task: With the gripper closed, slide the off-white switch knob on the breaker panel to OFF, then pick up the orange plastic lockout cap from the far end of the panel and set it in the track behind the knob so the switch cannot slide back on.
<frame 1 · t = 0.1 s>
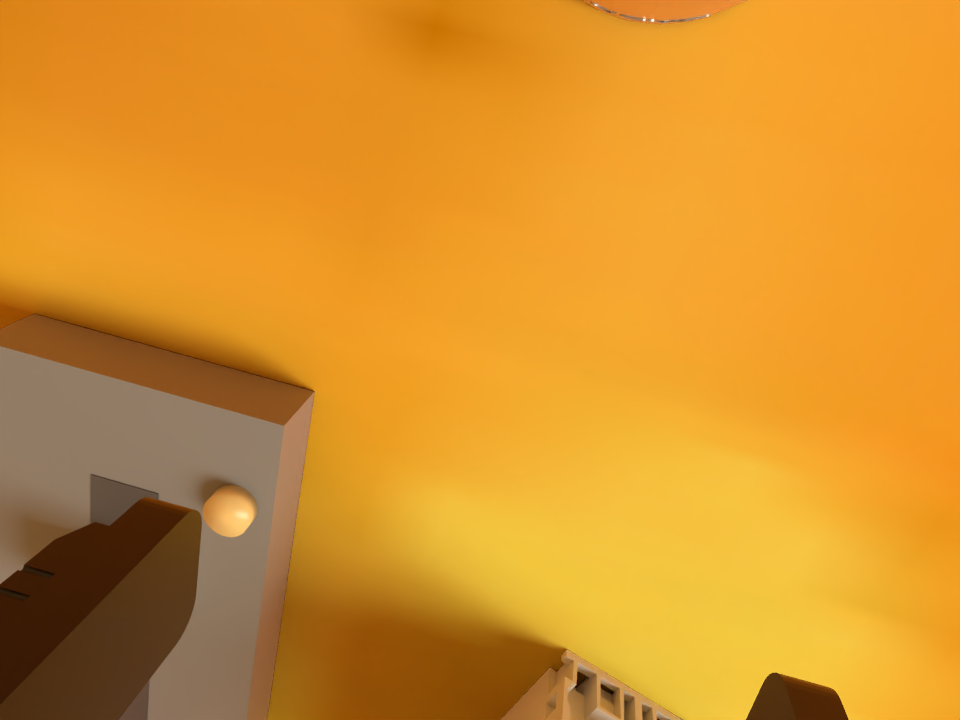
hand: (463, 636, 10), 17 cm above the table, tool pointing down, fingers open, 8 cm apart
breaker panel: (159, 598, 34), on the table
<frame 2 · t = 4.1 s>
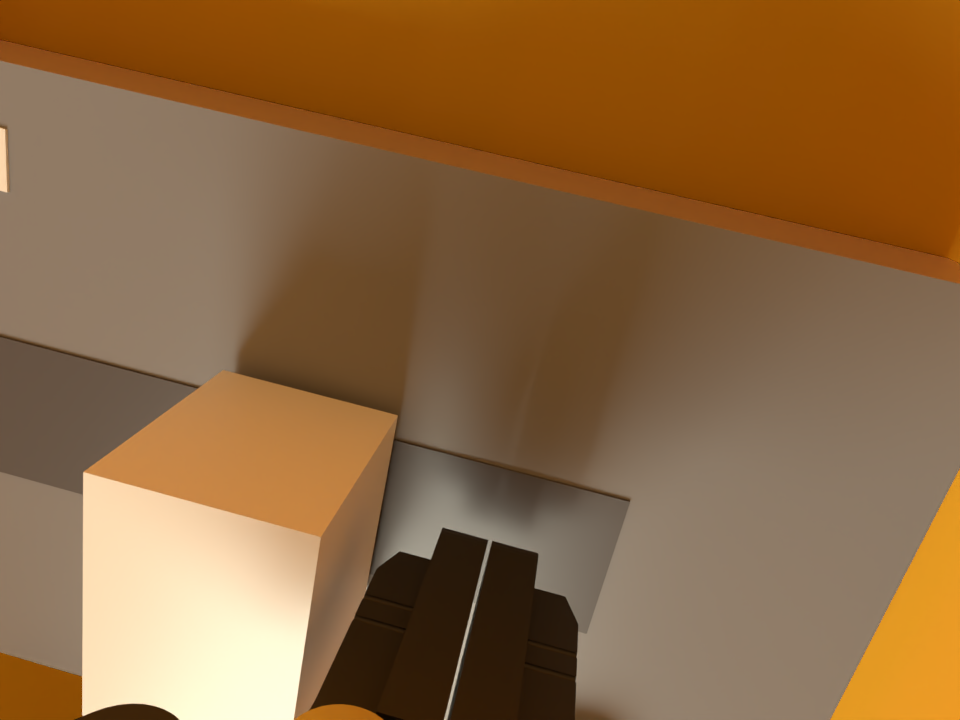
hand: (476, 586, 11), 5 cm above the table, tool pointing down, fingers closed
breaker panel: (224, 383, 16), on the table
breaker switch: (251, 554, 11), point 5 cm above the table, slide at 1.0 cm, touching gripper
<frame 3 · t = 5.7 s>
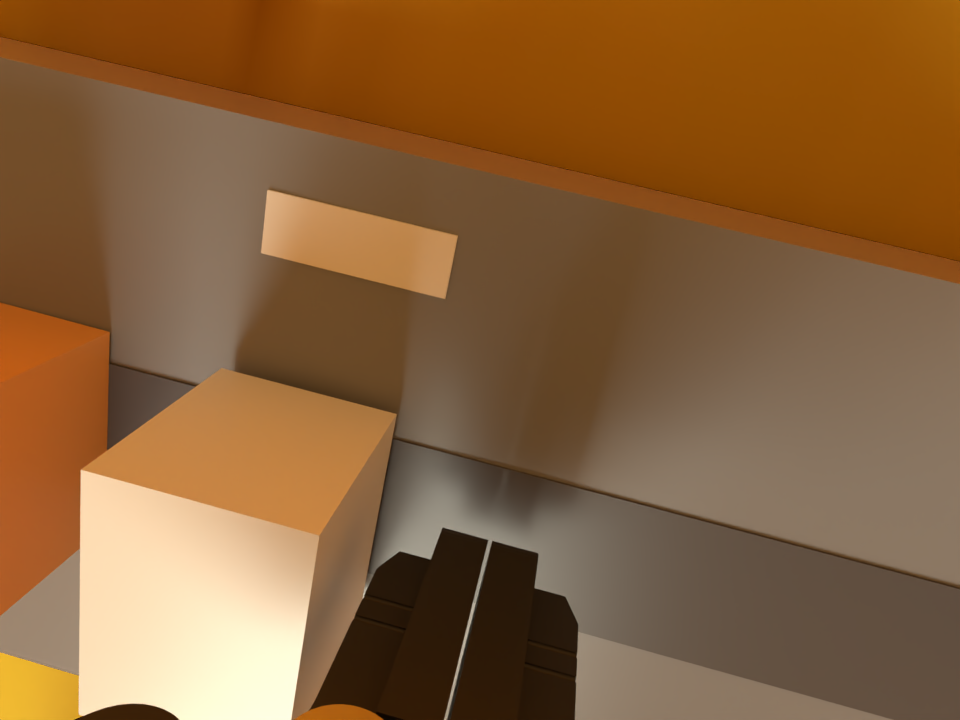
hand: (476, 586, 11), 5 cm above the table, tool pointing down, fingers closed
lockout cap: (5, 406, 13), point 3 cm above the table, touching breaker panel
breaker panel: (551, 468, 15), on the table
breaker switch: (249, 553, 11), point 5 cm above the table, slide at 8.4 cm, touching gripper
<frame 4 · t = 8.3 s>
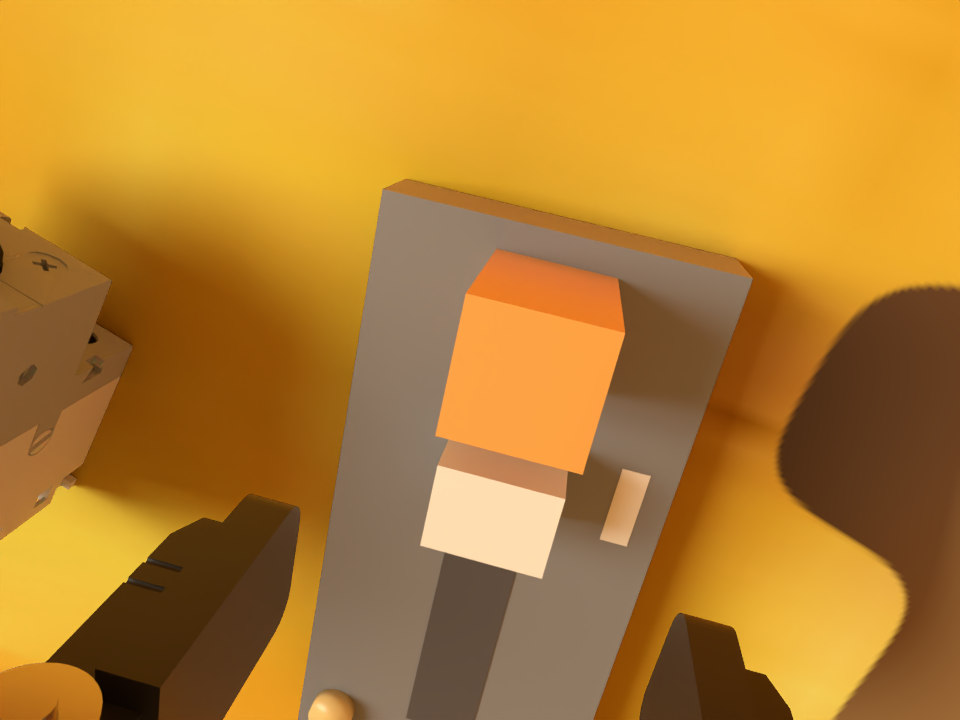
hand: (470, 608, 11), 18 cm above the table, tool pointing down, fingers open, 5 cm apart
circuit breaker: (50, 315, 31), on the table
lockout cap: (542, 321, 24), point 3 cm above the table, touching breaker panel
breaker panel: (490, 521, 31), on the table
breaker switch: (497, 494, 24), point 5 cm above the table, slide at 8.4 cm
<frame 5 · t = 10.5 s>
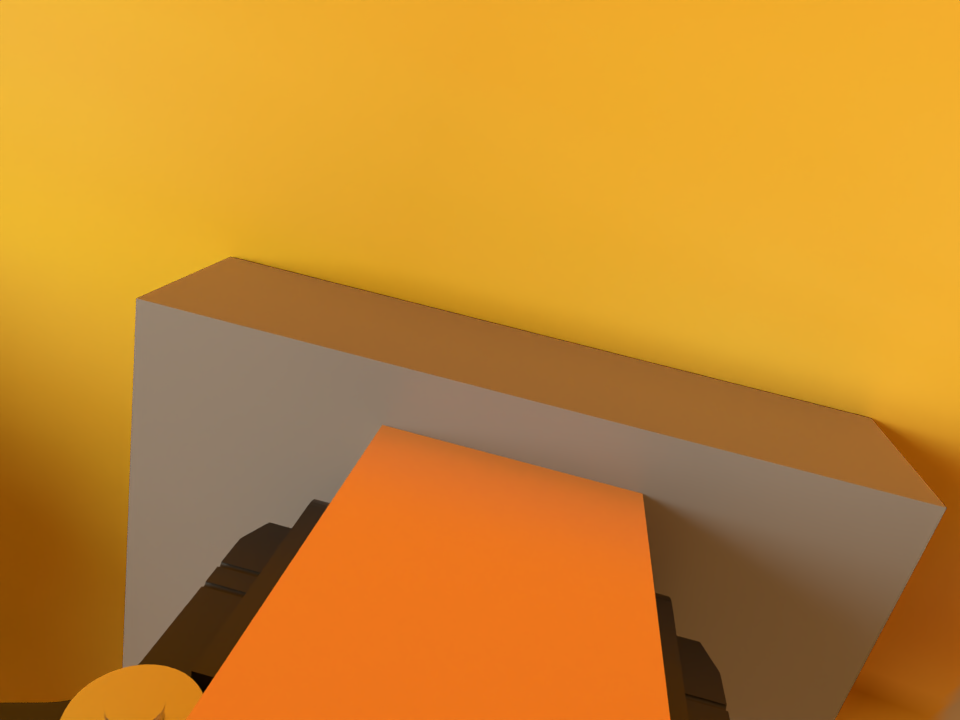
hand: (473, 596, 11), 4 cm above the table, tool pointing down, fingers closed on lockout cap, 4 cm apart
lockout cap: (482, 567, 12), point 3 cm above the table, touching breaker panel, gripper
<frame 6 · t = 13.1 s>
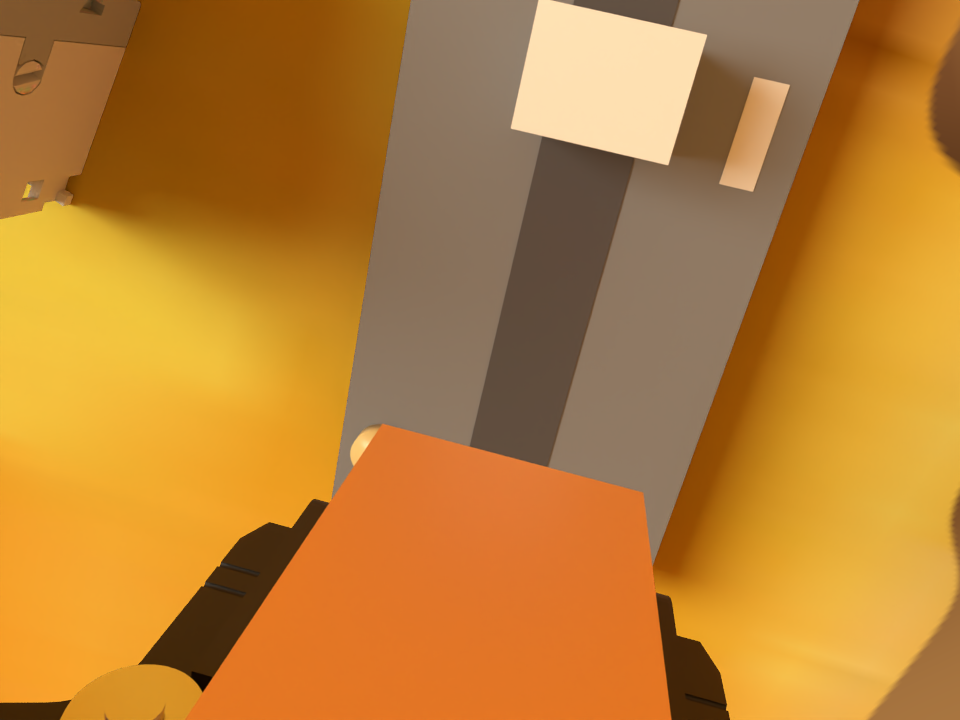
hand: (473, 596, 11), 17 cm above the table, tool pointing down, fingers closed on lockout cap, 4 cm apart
lockout cap: (482, 566, 12), point 16 cm above the table, touching gripper
breaker panel: (569, 218, 25), on the table
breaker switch: (604, 84, 19), point 5 cm above the table, slide at 8.4 cm
when the fingers open (5 cm above the table, at t = 15.5 s): lockout cap drops 1 cm, resting on breaker panel.
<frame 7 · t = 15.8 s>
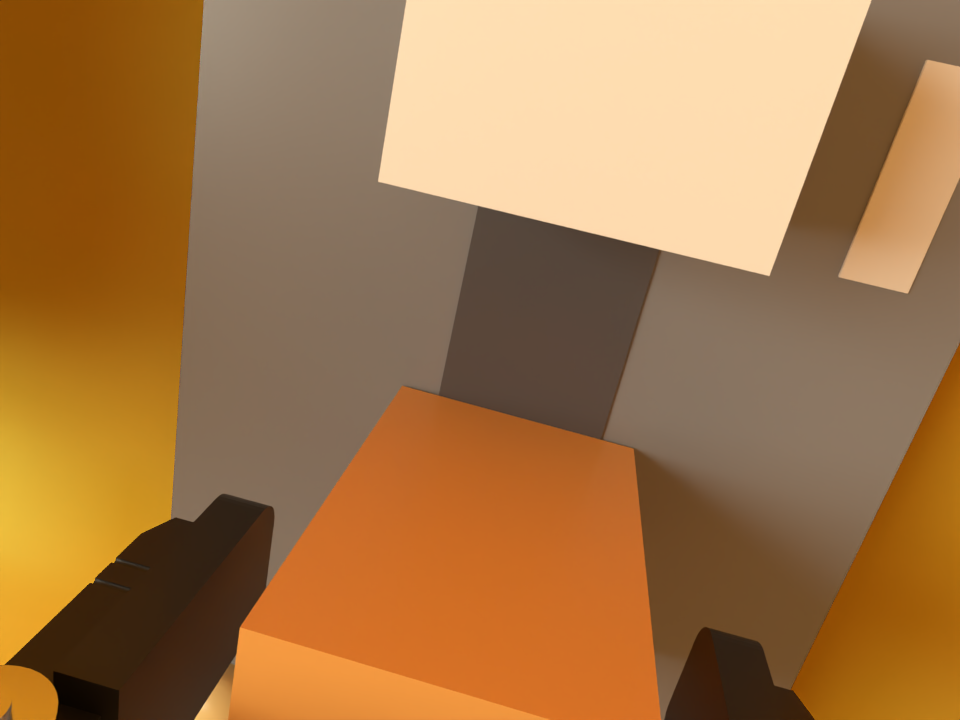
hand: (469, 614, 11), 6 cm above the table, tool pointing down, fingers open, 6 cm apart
lockout cap: (489, 515, 13), point 3 cm above the table, touching breaker panel
breaker panel: (545, 312, 15), on the table
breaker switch: (608, 74, 8), point 5 cm above the table, slide at 8.4 cm
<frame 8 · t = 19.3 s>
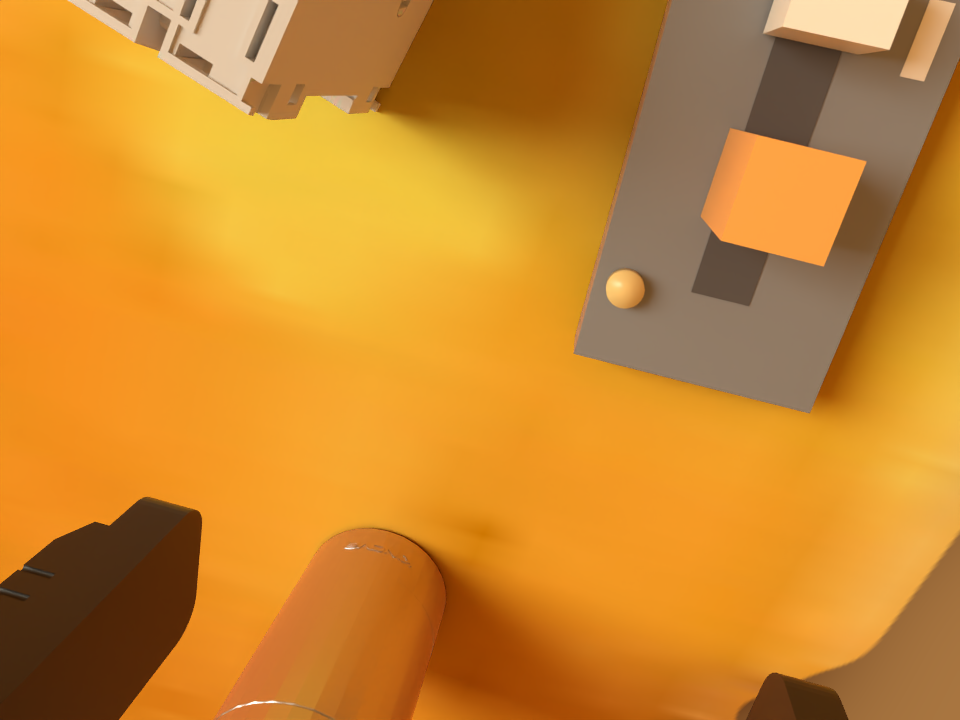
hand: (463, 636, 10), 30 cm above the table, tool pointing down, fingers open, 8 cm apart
lockout cap: (758, 183, 33), point 3 cm above the table, touching breaker panel
breaker panel: (768, 114, 35), on the table
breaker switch: (836, 0, 28), point 5 cm above the table, slide at 8.4 cm
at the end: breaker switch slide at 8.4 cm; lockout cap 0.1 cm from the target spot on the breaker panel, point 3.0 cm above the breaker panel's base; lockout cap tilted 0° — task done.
